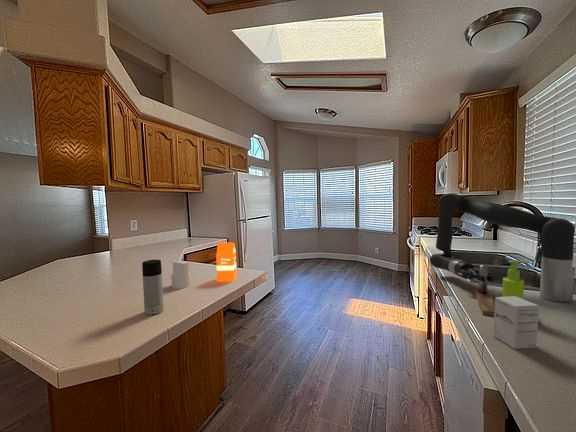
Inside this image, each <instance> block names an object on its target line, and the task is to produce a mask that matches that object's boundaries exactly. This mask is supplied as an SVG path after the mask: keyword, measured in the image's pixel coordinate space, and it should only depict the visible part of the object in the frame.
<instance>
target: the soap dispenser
mask: <svg viewBox="0 0 576 432" xmlns="http://www.w3.org/2000/svg"><path fill="white" fill-rule="evenodd" d="M507 262H508V264H509V263H510V268H508V269H507V276H506V277H503V278H502V290H501V292H502V293H501V297H509V296H516V297H519V298H521V299H524V291H525V289H524V288H525V281H524V280H522V279H521V278H520V276H521V275H520V273H521V270H520V269H518V264H524V265H528V264H529V262H526V261H523V260H519V259H517V260H516V259H514V260H512V259H511V260H510V259H509V260H507Z"/></svg>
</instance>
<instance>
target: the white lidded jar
mask: <svg viewBox="0 0 576 432" xmlns="http://www.w3.org/2000/svg"><path fill="white" fill-rule="evenodd" d="M170 276H171V278H170V279H171V288H172V289H174V288H175V289H176V290H179V289H181V288H182V289H186V287H187V288H189V287H191V285H192V278H191V277H192V275H191V272H190V266H189V262H188V261H182V260H174V261H172V273H171V275H170Z"/></svg>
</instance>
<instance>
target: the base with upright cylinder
mask: <svg viewBox="0 0 576 432" xmlns="http://www.w3.org/2000/svg"><path fill="white" fill-rule="evenodd" d="M478 268H479V269H478V270H479V275H482V276H484V277H485V282H482V281H480V280H478V289H474V295H475V298H476V300H477V302H478V306H479V307H480V311H481V313H482V315H485V316H493V317H495V300H494V299H493V297H492V295H491V293H490V292H489V290H488V284H489V282H488V271H489V265H487V264H479V267H478Z"/></svg>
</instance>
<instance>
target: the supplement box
mask: <svg viewBox="0 0 576 432" xmlns="http://www.w3.org/2000/svg"><path fill="white" fill-rule="evenodd" d="M494 301H495V316H493V317H494V318H493V322H494V323H493V337H494V338H496V339H498V340H499V341H501V342H503V343H504V344H506V345H508V346H509V347H511V348H513V349H514V350H517V349H533V348H534V349H535V348H537V343H538V330H539V329H538V327H539V313H540V312H539V311H540V305H539V304H536V303H533V302H531V301H529V300H526V299H524V298H523V299H521V298H519V297H516V296H509V297H502V296H496V297H495V299H494Z"/></svg>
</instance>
